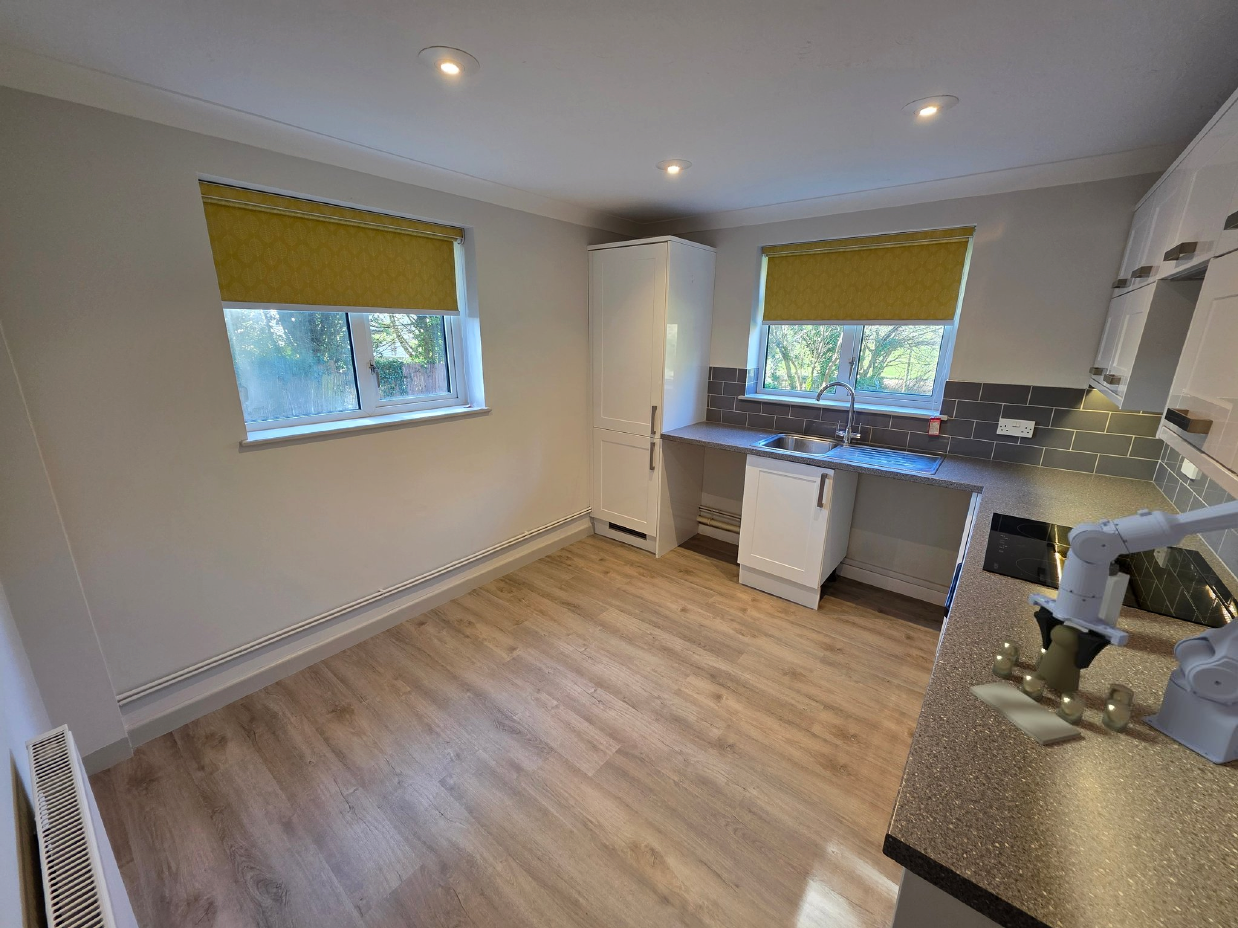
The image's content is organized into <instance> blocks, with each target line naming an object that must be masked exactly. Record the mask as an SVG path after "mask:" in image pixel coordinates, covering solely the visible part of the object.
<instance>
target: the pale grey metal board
mask: <svg viewBox="0 0 1238 928" xmlns="http://www.w3.org/2000/svg"><path fill="white" fill-rule="evenodd" d="M968 690H969V692H970V693H971V694H973V695H974V696H975V697H977V698H978V699H979V700H981V701H982V702H983V703H985V704H986V705H988V706H989V707H990V708H992V709H993V710H994V711H996V712H997V713H999V714H1000V715H1001V716H1002V717H1004V718H1005V719H1006V720H1008V721H1009V722H1011V723H1012V725H1015V726H1016V727H1017V728H1018V729H1020V730H1022V731H1023V732H1024V733H1025V734H1027V735H1028V736H1029V737H1031V738H1032V739H1034V740H1035V741H1036V742H1038V743H1039V744H1041V746H1045V745H1049V744H1052V743H1057V742H1062V741H1067V740H1071V739H1075V738H1080V737H1081V735H1082V731H1080V730H1079V729H1077V728H1075V727H1074V725H1072V724H1069V723H1067V722H1065V721H1064V720H1062V719H1061V718H1059V717H1058V715H1056V714H1055V713H1053V712H1052V711H1051V710H1049V709H1047V708H1046V707H1044V706H1043V705H1041V704H1040V703H1038V701H1034V700H1032V699H1031V698H1029V697H1028V696H1026V695H1025V694H1023V693H1022V692H1020V691H1021V690H1019V689H1017V688H1016V687H1015V686H1013V685H1011V684H1010V683H1009V682H1007V681H1006V680H1001V681H996V682H991V683H990V682H989V683H983V684H979V685H974V686H969V689H968Z"/></svg>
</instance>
